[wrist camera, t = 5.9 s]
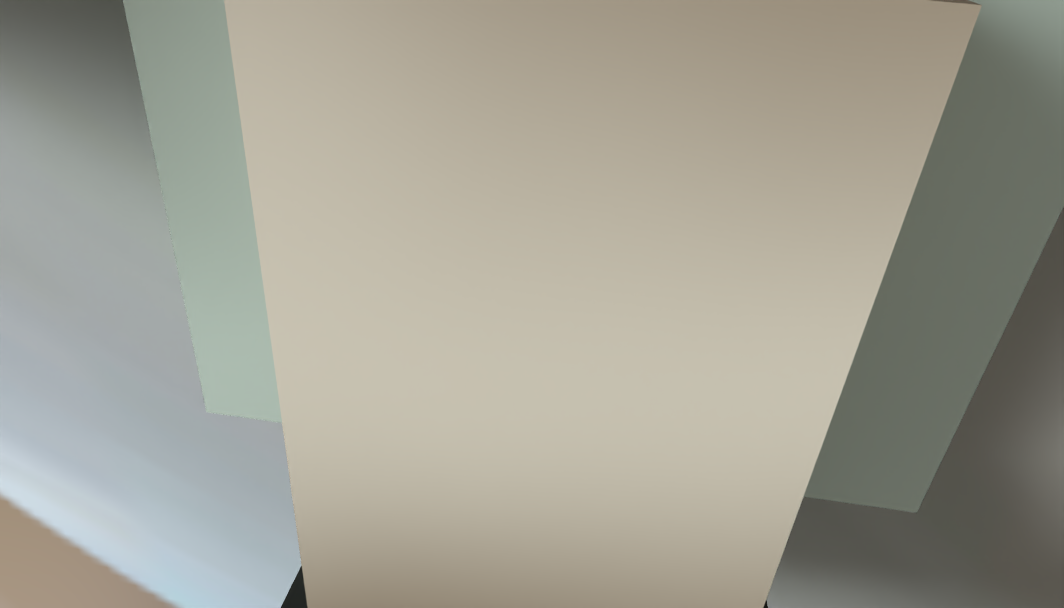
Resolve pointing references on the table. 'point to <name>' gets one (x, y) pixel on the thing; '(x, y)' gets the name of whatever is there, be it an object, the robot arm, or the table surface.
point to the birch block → (572, 278)
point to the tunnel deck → (897, 313)
